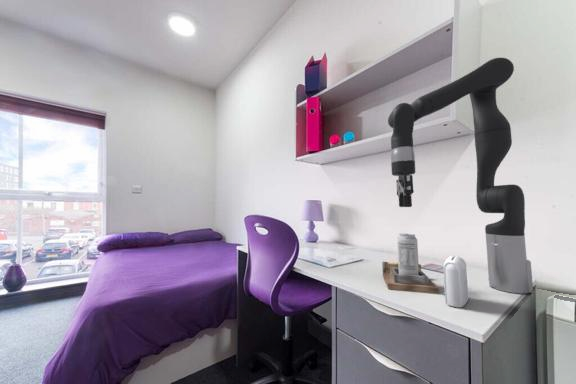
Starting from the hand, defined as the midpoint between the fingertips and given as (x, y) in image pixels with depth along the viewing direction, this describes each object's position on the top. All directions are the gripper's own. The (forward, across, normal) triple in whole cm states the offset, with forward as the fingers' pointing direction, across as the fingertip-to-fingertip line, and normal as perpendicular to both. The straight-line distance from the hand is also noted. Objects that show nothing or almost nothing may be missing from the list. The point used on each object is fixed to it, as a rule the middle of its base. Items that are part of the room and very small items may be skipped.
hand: (405, 207), depth 79 cm
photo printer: (+27, +13, +9) cm, 31 cm away
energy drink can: (+24, +2, 0) cm, 25 cm away
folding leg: (+26, -7, -1) cm, 27 cm away
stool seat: (+26, +2, -1) cm, 26 cm away
